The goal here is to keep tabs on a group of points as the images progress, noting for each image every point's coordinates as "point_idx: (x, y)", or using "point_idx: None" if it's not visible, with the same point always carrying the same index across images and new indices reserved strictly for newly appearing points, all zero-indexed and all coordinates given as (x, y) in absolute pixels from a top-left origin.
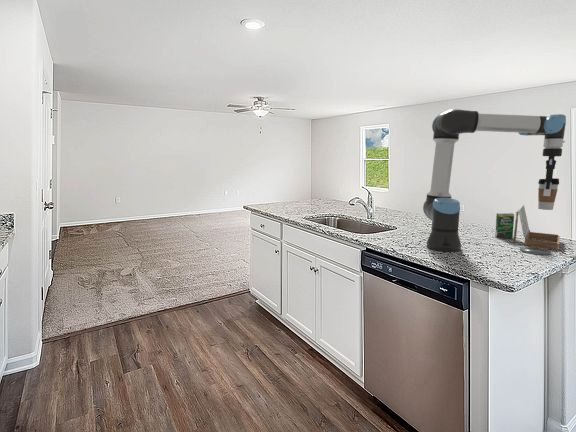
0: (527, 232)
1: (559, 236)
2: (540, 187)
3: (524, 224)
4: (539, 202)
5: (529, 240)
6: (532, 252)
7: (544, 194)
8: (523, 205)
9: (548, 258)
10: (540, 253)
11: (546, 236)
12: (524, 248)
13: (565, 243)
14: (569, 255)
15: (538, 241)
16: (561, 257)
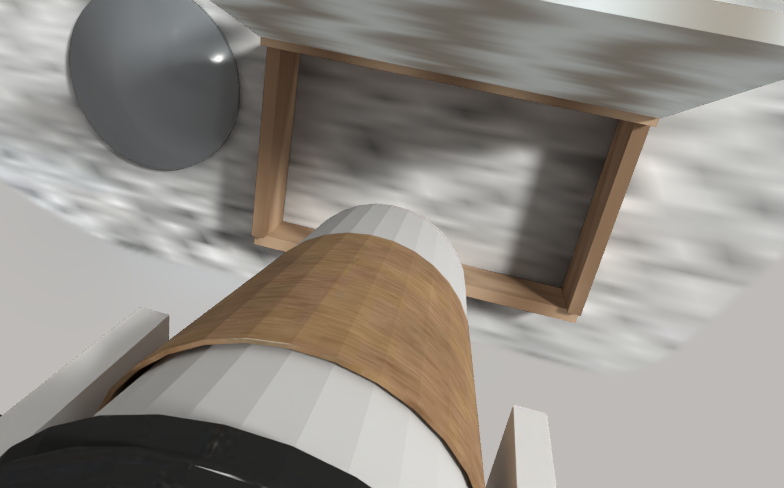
0: (450, 74)
1: (546, 314)
2: (152, 375)
3: (323, 26)
4: (318, 235)
5: (268, 64)
6: (74, 54)
7: (122, 337)
8: (732, 38)
9: (26, 127)
10: (77, 99)
11: (587, 236)
12: (164, 17)
13: (518, 323)
14: (166, 251)
15: (263, 125)
16: (93, 199)
